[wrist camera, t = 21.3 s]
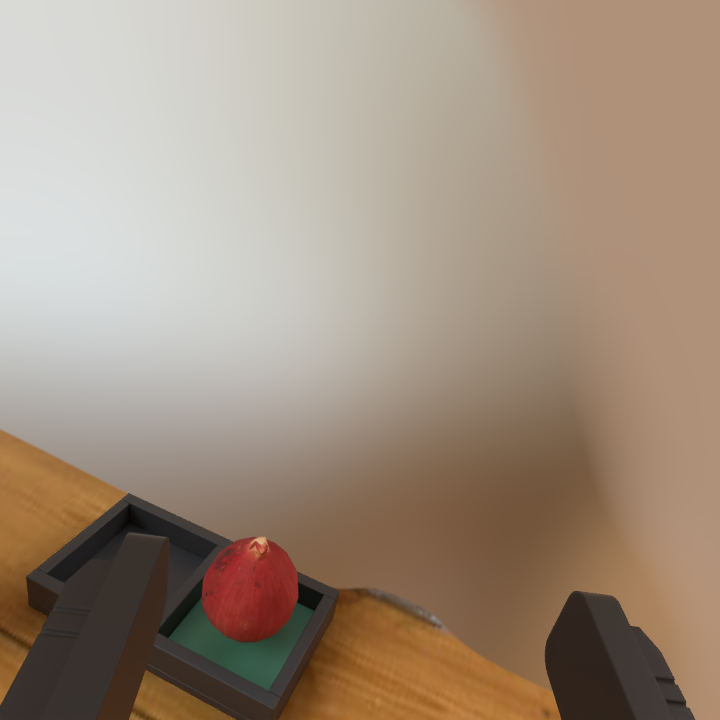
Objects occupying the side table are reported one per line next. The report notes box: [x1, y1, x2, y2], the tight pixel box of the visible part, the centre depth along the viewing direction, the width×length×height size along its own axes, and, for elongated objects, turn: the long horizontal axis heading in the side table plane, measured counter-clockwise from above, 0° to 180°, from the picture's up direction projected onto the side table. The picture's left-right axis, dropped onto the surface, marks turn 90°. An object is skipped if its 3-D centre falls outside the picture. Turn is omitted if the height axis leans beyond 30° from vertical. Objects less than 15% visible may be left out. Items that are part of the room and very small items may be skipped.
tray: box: [26, 493, 339, 720], centre depth 39 cm, size 9×17×3 cm, turn 68°
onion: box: [202, 537, 298, 643], centre depth 36 cm, size 6×6×8 cm
